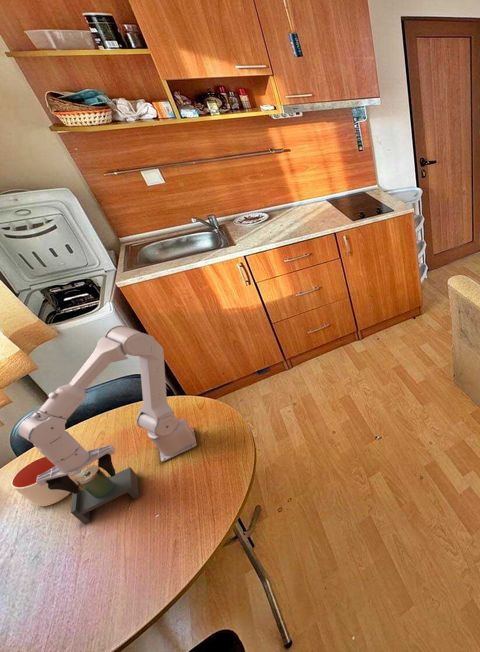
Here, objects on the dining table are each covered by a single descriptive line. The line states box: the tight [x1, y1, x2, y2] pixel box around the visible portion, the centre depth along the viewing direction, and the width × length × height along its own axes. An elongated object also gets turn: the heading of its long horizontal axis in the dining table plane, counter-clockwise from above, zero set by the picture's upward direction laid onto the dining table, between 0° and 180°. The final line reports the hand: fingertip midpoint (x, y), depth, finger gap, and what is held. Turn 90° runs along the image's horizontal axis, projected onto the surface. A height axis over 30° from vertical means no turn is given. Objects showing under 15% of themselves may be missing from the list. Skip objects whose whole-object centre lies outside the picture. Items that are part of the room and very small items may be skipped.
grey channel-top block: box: [70, 466, 140, 525], centre depth 103 cm, size 12×8×6 cm, turn 128°
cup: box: [10, 455, 79, 507], centre depth 104 cm, size 10×10×10 cm
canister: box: [75, 464, 114, 498], centre depth 100 cm, size 5×5×8 cm
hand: (95, 481), depth 100 cm, fingers open, 7 cm apart
